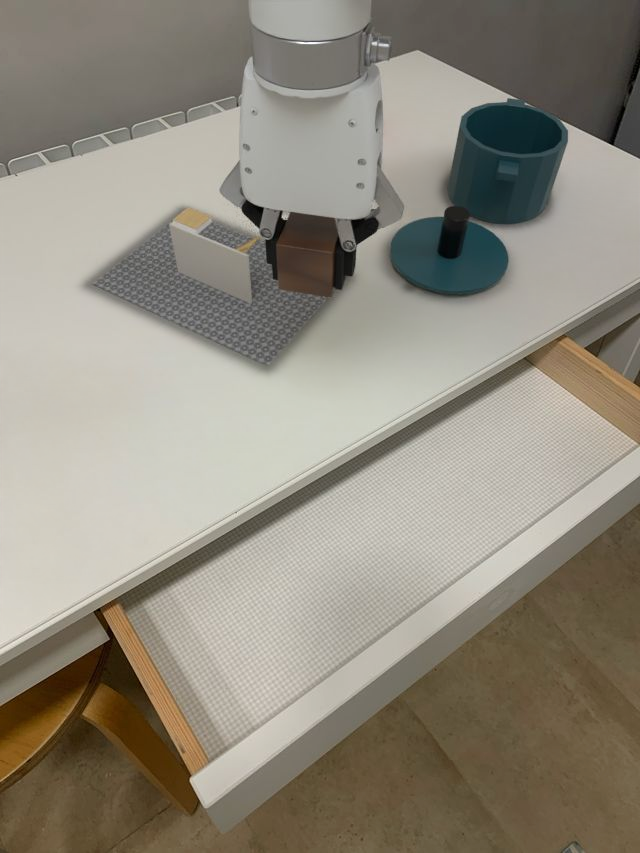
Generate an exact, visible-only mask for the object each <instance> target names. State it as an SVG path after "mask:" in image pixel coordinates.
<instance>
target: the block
mask: <svg viewBox="0 0 640 853" xmlns="http://www.w3.org/2000/svg"><path fill="white" fill-rule="evenodd" d="M286 220H287V221H286V223H285V226H284V228H283V230H282V232H281V235H280V237H279V239H278V242H277V244H276V251H277V270H278V288H279V290H285V291H292V292H298V293H304V294H311V295H317V296H323V297H329V298H330V299H331V298H333V295H334V292H335V291H334V289H335V287H334V264H335V250H336V247H337V244H338V241H339V235H338V231H337V227H336V223H335V219H334V218H331V217H324V216H317V215H310V214H303V213H296V212H290V213H289V214H288V216H287V219H286Z"/></svg>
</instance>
